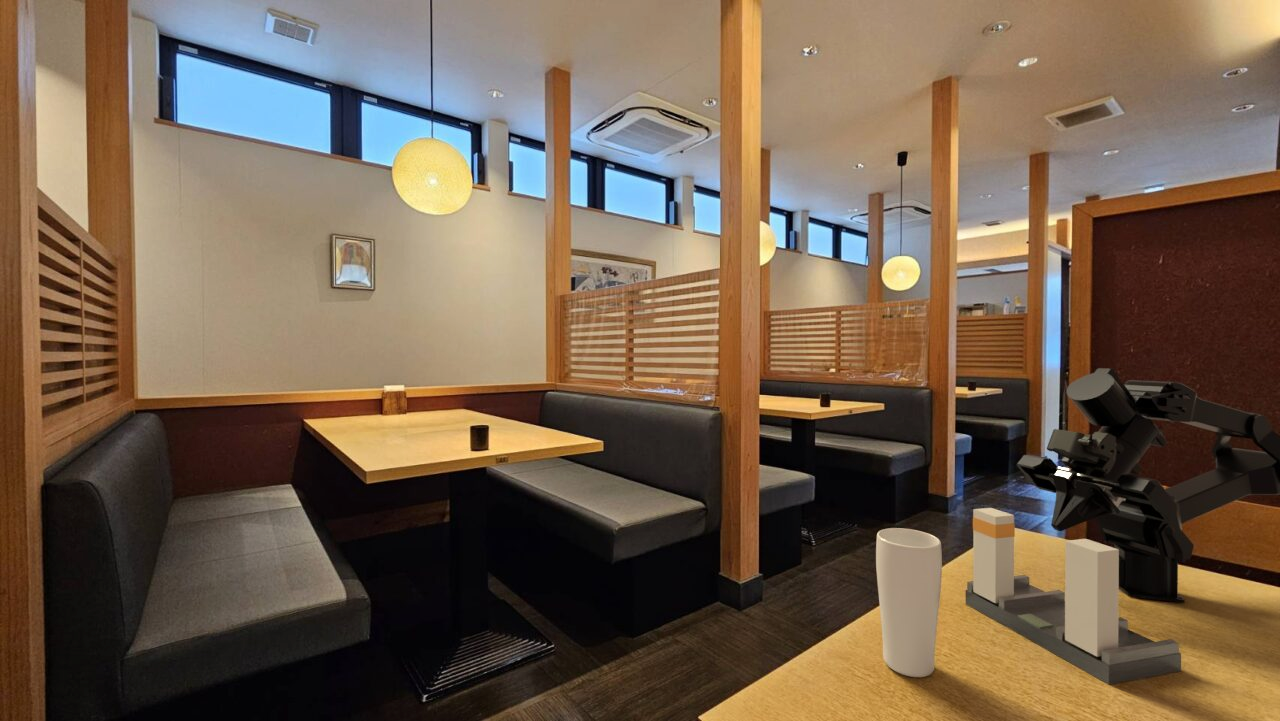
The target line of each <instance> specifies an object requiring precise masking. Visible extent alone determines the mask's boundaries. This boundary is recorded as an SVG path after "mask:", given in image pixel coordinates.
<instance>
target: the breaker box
mask: <svg viewBox="0 0 1280 721" xmlns="http://www.w3.org/2000/svg"><path fill="white" fill-rule="evenodd" d="M966 583H967V586H966V587H967V589H965V605H967V606H969V607H970V608H972V609H974V610H976V611H978V612H979V613H981V614H983V615H985V616H987V617H988V618H990V619H992V620H994V621H996V622H997V623H998V624H1001V625H1002V626H1004V627H1006V628H1008V629H1009V630H1012V631H1013V632H1015V633H1017V634H1019V635H1021V636H1022V637H1024V638H1025V639H1028V640H1029V641H1030V642H1033V643H1034V644H1036V645H1038V646H1040V647H1042V648H1043V649H1045V650H1047V651H1048V652H1050V653H1053V654H1054V655H1056V656H1057V657H1059V658H1061V659H1063V660H1064V661H1067V662H1068V663H1070V664H1072V665H1074V666H1075V667H1077V668H1078V669H1080V670H1082V671H1084V672H1086V673H1088V674H1089V675H1092V676H1093V677H1094V678H1097V679H1098V680H1100V681H1102V682H1103V683H1105V684H1107V685H1112V684H1113V685H1114V684H1119V683H1124V682H1131V681H1135V680H1141V679H1145V678H1150V677H1157V676H1162V675H1167V674H1173V673H1178V672H1182V653H1181V652H1180V642H1178V641H1176V640H1173V639H1171V638H1169V639H1164V640H1163V639H1162V640H1157V641H1155V640H1153V639H1151V638H1148V637H1146V636H1143V635H1141V634H1139V633H1137V632H1136V631H1135V632H1134V631H1132V630H1130V629H1129V620H1128V619H1126V618H1124V617H1119V616H1118V648H1114V649H1108V650H1102V656H1099V657H1097V656H1095V655H1093V654H1091V653H1089V652H1087V651H1085V650H1083V649H1081V648H1079V647H1078V646H1076V645H1074V644H1072V643H1070V642H1068V641H1066V640H1065V591H1063V590H1060V589H1057V590H1056V589H1055V590H1050V591H1049V590H1048V591H1045V590H1044V589H1043V590H1042V589H1041V588H1038V587H1036V586H1033V585H1032V584H1030V576H1028V575H1026V574H1019V575H1014V596H1010V597H1002V598H999V603H994V602H992V601H990V600H988V599H986V598H984V597H982V596H980V595H979V594H977V593H975V592H973V580H972V581H967V582H966Z"/></svg>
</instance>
